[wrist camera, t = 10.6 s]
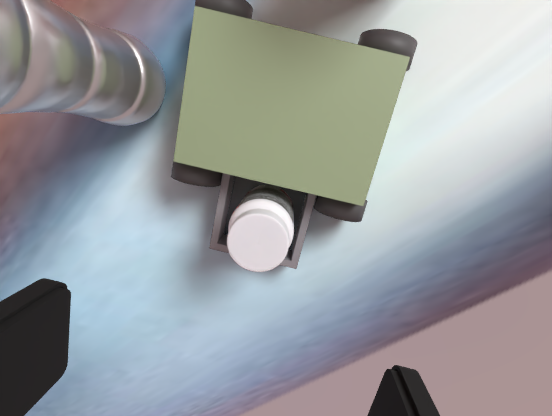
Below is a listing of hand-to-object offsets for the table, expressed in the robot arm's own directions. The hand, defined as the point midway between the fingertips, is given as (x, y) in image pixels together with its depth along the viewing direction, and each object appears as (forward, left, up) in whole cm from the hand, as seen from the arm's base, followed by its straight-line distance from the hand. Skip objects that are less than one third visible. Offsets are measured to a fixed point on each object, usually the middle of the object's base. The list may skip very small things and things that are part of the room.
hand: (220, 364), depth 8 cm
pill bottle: (0, 0, -19) cm, 19 cm away
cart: (0, -5, -19) cm, 19 cm away
